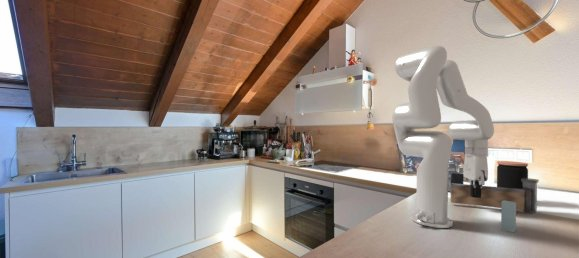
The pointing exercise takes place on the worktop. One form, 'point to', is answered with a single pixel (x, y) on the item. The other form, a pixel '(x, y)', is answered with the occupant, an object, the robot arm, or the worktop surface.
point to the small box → (454, 178)
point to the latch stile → (508, 216)
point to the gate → (491, 196)
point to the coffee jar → (511, 174)
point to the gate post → (531, 185)
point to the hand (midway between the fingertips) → (475, 197)
